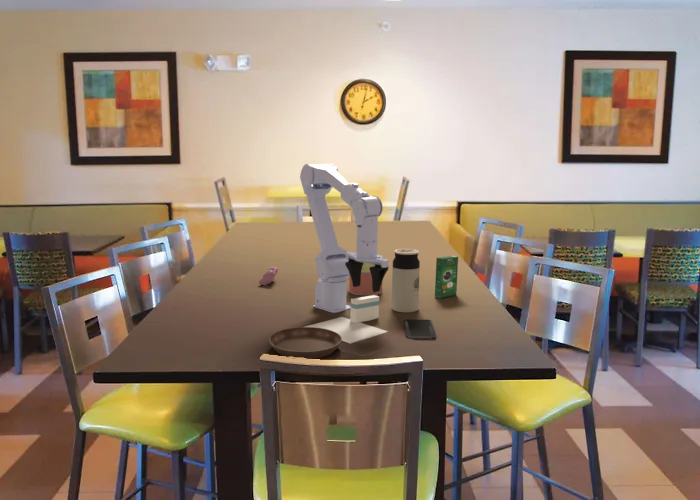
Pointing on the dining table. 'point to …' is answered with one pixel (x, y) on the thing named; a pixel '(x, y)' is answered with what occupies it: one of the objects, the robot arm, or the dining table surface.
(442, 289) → the coffee box
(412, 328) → the phone
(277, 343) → the plant saucer
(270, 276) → the pink bird figurine
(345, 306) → the robot arm
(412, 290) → the travel mug
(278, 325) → the dining table surface
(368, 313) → the card deck
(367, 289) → the canned food
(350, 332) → the mat
